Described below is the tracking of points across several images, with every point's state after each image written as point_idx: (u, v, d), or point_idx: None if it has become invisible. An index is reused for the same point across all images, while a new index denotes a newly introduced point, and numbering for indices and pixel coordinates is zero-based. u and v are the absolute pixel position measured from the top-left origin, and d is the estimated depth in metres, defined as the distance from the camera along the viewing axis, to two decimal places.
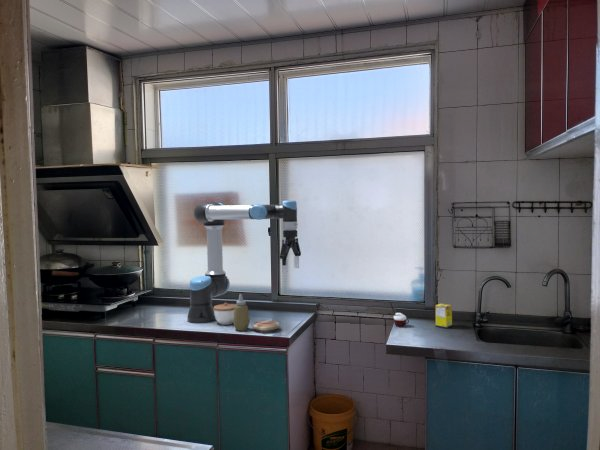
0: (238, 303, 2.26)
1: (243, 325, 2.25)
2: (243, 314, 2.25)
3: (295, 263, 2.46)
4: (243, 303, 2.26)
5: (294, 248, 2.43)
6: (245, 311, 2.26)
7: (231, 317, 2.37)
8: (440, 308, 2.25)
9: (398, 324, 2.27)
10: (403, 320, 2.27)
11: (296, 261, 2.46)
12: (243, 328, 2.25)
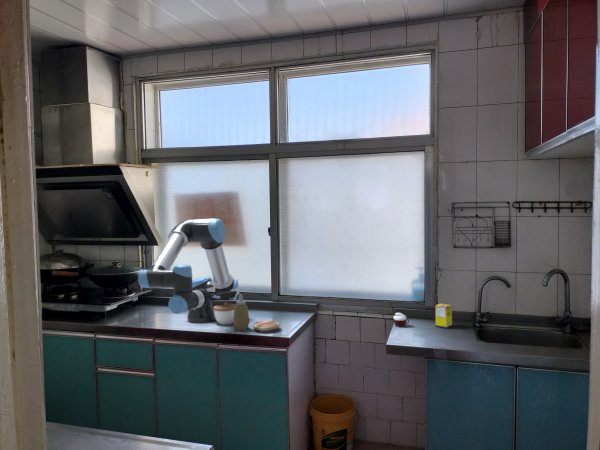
0: (238, 303, 2.26)
1: (243, 325, 2.25)
2: (243, 314, 2.25)
3: None
4: (243, 303, 2.26)
5: None
6: (245, 311, 2.26)
7: (231, 317, 2.37)
8: (440, 308, 2.25)
9: (398, 324, 2.27)
10: (403, 320, 2.27)
11: None
12: (243, 328, 2.25)
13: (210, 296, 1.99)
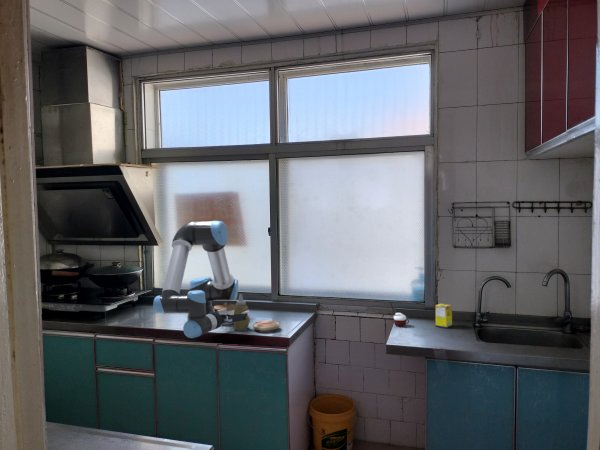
0: (238, 303, 2.26)
1: (243, 325, 2.25)
2: None
3: None
4: (243, 303, 2.26)
5: None
6: None
7: None
8: (440, 308, 2.25)
9: (398, 324, 2.27)
10: (403, 320, 2.27)
11: None
12: (243, 328, 2.25)
13: (222, 319, 2.07)
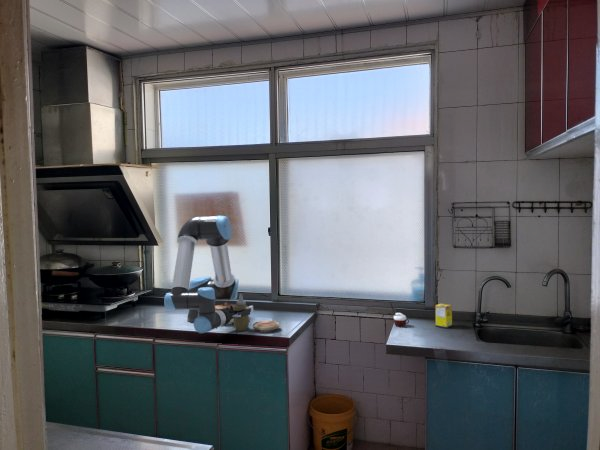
0: (238, 303, 2.26)
1: (243, 325, 2.25)
2: None
3: None
4: (243, 303, 2.26)
5: None
6: None
7: None
8: (440, 308, 2.25)
9: (398, 324, 2.27)
10: (403, 320, 2.27)
11: None
12: (243, 328, 2.25)
13: (231, 315, 2.13)
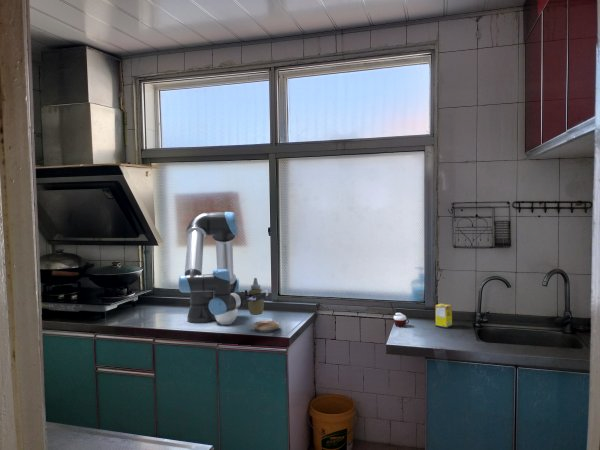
0: (253, 287, 2.23)
1: (258, 309, 2.22)
2: None
3: None
4: (258, 287, 2.24)
5: None
6: None
7: (231, 317, 2.37)
8: (440, 308, 2.25)
9: (398, 324, 2.27)
10: (403, 320, 2.27)
11: None
12: (258, 312, 2.23)
13: (246, 298, 2.11)
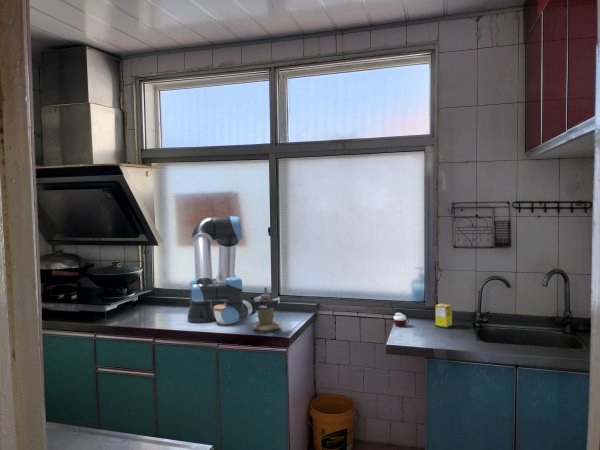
0: (263, 297, 2.24)
1: (268, 318, 2.23)
2: None
3: None
4: (268, 297, 2.24)
5: None
6: None
7: None
8: (440, 308, 2.25)
9: (398, 324, 2.27)
10: (403, 320, 2.27)
11: None
12: (268, 322, 2.23)
13: (257, 306, 2.12)
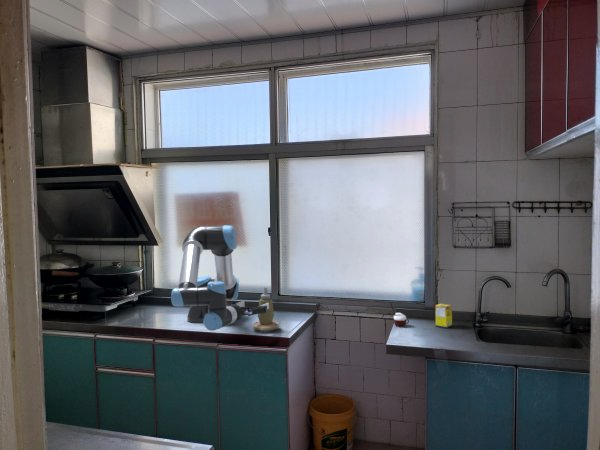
0: (263, 297, 2.24)
1: (268, 318, 2.23)
2: None
3: None
4: (268, 297, 2.24)
5: None
6: (270, 305, 2.24)
7: None
8: (440, 308, 2.25)
9: (398, 324, 2.27)
10: (403, 320, 2.27)
11: None
12: (268, 322, 2.23)
13: (242, 312, 2.00)
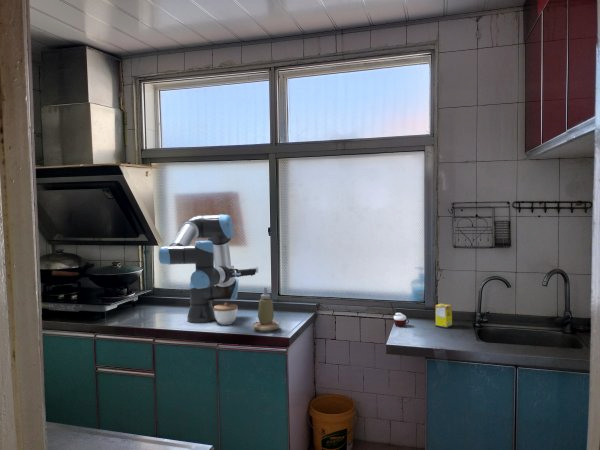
0: (263, 297, 2.24)
1: (268, 318, 2.23)
2: (268, 308, 2.23)
3: None
4: (268, 297, 2.24)
5: None
6: (270, 305, 2.24)
7: (231, 317, 2.37)
8: (440, 308, 2.25)
9: (398, 324, 2.27)
10: (403, 320, 2.27)
11: None
12: (268, 322, 2.23)
13: (230, 273, 1.99)
